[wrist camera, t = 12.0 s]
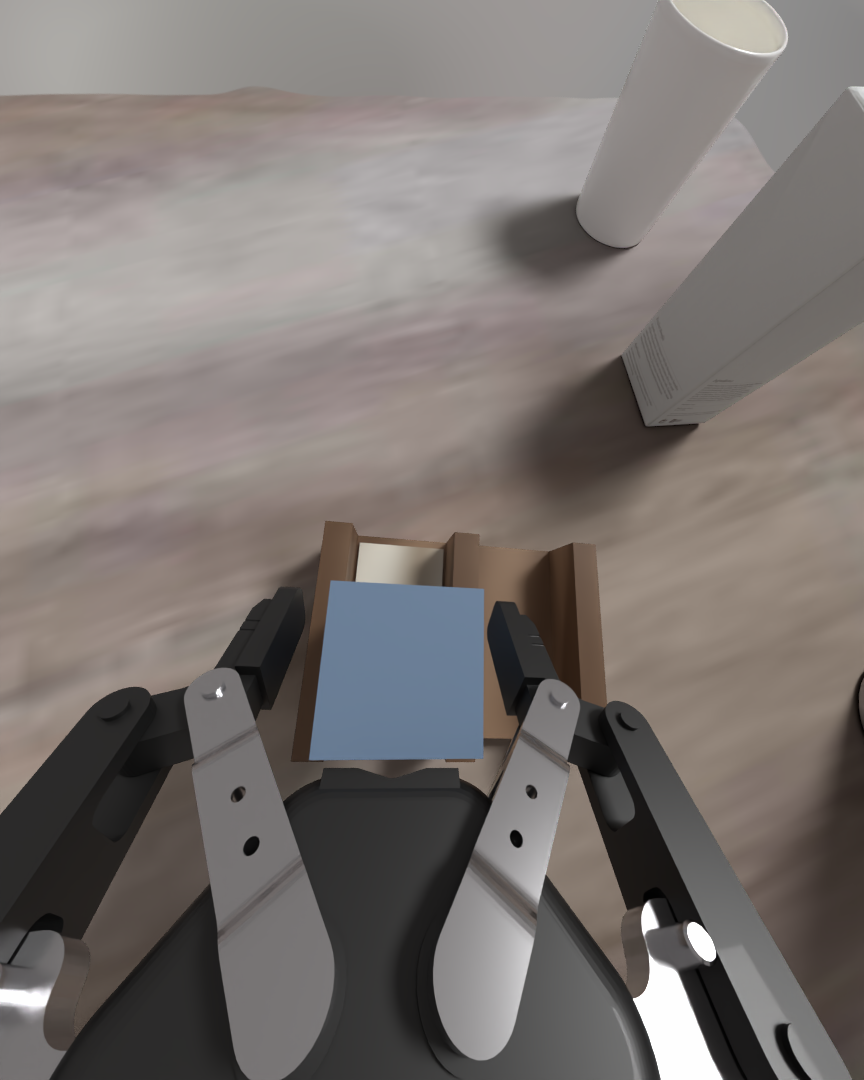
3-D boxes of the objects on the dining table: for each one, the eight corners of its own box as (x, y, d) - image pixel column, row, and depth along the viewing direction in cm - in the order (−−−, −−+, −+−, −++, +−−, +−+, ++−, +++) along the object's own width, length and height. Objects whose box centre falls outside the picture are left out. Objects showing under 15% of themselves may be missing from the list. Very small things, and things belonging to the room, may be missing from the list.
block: (430, 601, 20) (484, 589, 8) (427, 667, 19) (483, 758, 7) (367, 598, 19) (330, 580, 8) (361, 665, 18) (309, 760, 7)
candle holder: (609, 177, 35) (717, -40, 23) (668, 235, 34) (812, 39, 22) (550, 204, 32) (638, -22, 21) (612, 267, 31) (740, 67, 20)
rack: (557, 556, 23) (595, 544, 19) (564, 730, 21) (611, 762, 16) (338, 538, 22) (325, 520, 17) (314, 726, 19) (291, 761, 14)
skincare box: (701, 426, 28) (1056, 215, 13) (639, 429, 27) (945, 205, 12) (674, 350, 30) (961, 87, 15) (615, 351, 29) (857, 69, 14)
